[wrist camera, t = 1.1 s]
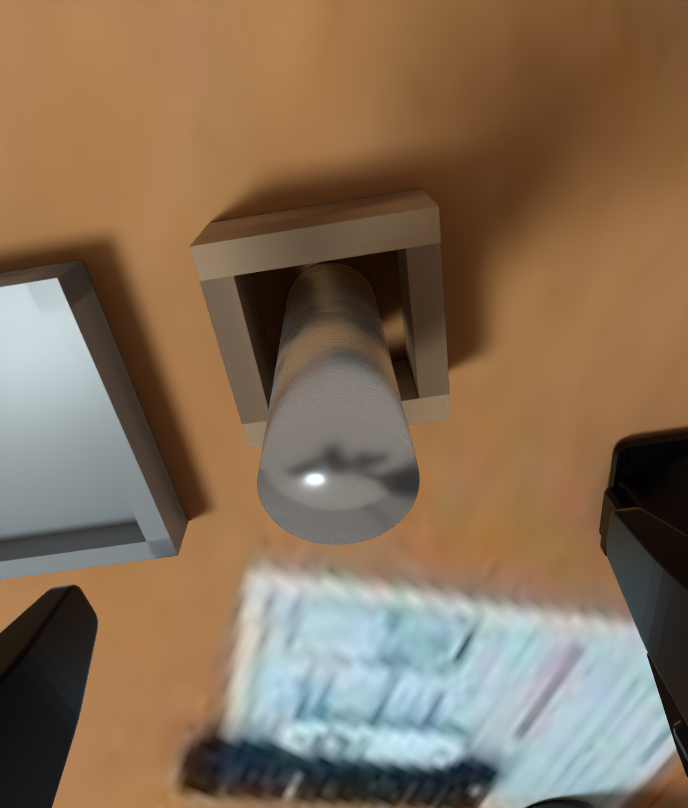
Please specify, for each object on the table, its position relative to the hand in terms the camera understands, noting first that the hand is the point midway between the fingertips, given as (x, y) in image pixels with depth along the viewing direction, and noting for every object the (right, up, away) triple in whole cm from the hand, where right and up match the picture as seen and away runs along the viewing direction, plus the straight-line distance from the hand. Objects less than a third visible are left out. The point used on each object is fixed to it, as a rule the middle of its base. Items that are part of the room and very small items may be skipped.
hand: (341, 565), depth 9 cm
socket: (0, +6, +10) cm, 12 cm away
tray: (-13, +2, +12) cm, 18 cm away
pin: (0, +6, +10) cm, 12 cm away
